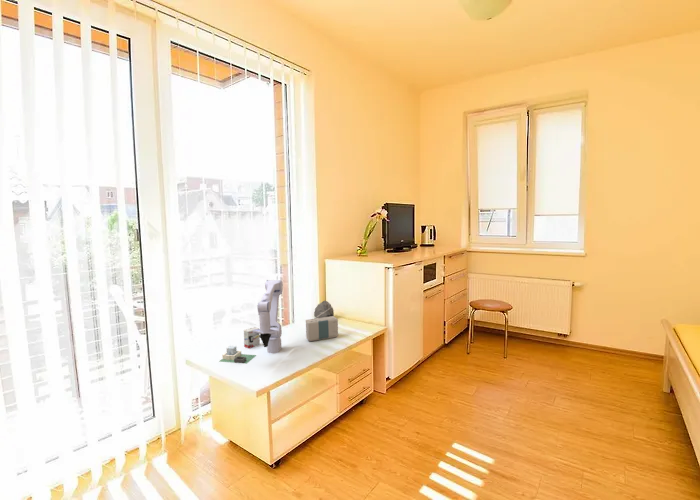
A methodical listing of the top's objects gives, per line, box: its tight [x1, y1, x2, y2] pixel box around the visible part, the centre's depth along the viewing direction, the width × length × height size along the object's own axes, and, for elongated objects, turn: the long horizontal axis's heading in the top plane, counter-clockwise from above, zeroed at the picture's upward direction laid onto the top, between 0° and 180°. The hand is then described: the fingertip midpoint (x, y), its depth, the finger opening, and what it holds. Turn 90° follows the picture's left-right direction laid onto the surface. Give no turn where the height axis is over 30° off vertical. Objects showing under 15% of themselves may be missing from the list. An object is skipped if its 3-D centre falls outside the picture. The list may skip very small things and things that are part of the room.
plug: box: [226, 345, 238, 355], centre depth 209 cm, size 4×4×6 cm
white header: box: [221, 350, 242, 360], centre depth 209 cm, size 8×8×2 cm
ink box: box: [243, 326, 261, 349], centre depth 227 cm, size 9×5×12 cm, turn 137°
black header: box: [233, 356, 246, 364], centre depth 203 cm, size 5×4×2 cm
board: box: [218, 353, 257, 364], centre depth 208 cm, size 12×17×1 cm
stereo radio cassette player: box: [305, 306, 339, 342], centre depth 241 cm, size 21×8×20 cm, turn 114°
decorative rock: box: [313, 300, 335, 318], centre depth 285 cm, size 16×7×15 cm, turn 62°
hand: (265, 346), depth 201 cm, fingers closed
